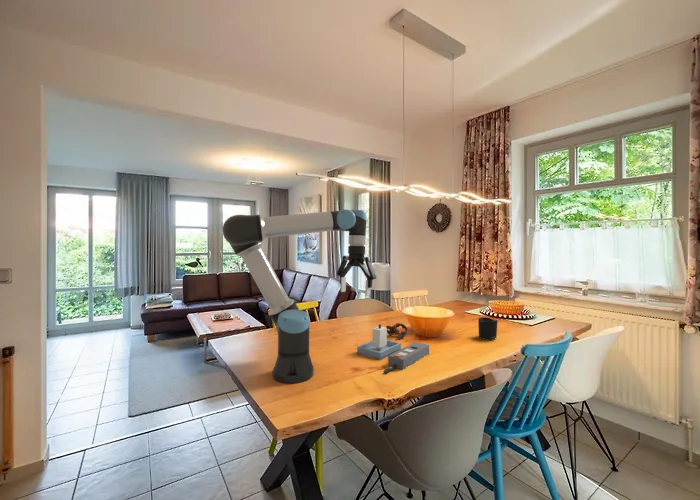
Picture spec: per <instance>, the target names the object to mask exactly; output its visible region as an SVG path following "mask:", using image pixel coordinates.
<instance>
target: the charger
mask: <svg viewBox="0 0 700 500" xmlns="http://www.w3.org/2000/svg"><path fill="white" fill-rule="evenodd" d="M371 336H372V340H371V341H372V346H374V347H376V350H380V351H381V350H383V346H385V345H387V340H388V333H387V328H386V326H382V324H380V323H379V324H378V326H376V327H374V328H372V335H371Z"/></svg>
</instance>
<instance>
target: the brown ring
mask: <svg viewBox="0 0 700 500" xmlns="http://www.w3.org/2000/svg"><path fill="white" fill-rule="evenodd" d="M385 327H386V328H387V335H389V336H391V335H393V334H395V335H397V337H396V339H397V340H401V338H404V337H407V336H408V328H407V326H406V325H404V324H403V323H400V322H397V323H395V324H394V325H392V326H391V325H386V326H385ZM400 327H401V329H404V331H401V332H400V330H399V329H398V328H400Z"/></svg>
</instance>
